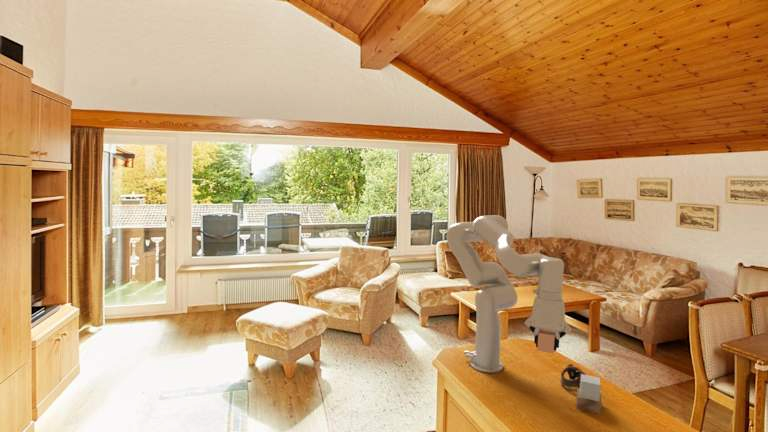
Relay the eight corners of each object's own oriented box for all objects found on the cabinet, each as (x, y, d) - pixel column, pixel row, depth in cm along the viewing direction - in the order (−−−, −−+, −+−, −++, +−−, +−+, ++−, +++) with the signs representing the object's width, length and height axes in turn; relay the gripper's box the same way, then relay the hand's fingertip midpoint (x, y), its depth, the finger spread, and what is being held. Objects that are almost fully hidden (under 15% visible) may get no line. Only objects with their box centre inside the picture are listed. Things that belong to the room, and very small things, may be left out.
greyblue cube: (580, 397, 135) (581, 381, 135) (579, 389, 140) (581, 374, 140) (599, 401, 133) (600, 385, 132) (597, 393, 138) (599, 377, 137)
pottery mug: (596, 395, 145) (589, 377, 143) (570, 403, 147) (562, 386, 145) (583, 371, 156) (576, 354, 154) (558, 379, 158) (551, 363, 156)
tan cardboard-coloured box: (576, 409, 135) (577, 397, 135) (576, 399, 142) (577, 388, 141) (600, 415, 132) (601, 403, 132) (599, 404, 139) (600, 393, 138)
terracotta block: (537, 350, 139) (538, 332, 139) (539, 345, 144) (540, 328, 143) (553, 353, 137) (554, 335, 137) (554, 348, 142) (555, 330, 141)
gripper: (521, 293, 139) (518, 346, 141) (577, 301, 132) (573, 357, 133) (524, 288, 146) (521, 339, 148) (578, 295, 138) (574, 348, 140)
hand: (546, 347), depth 140 cm, fingers closed on terracotta block, 5 cm apart
